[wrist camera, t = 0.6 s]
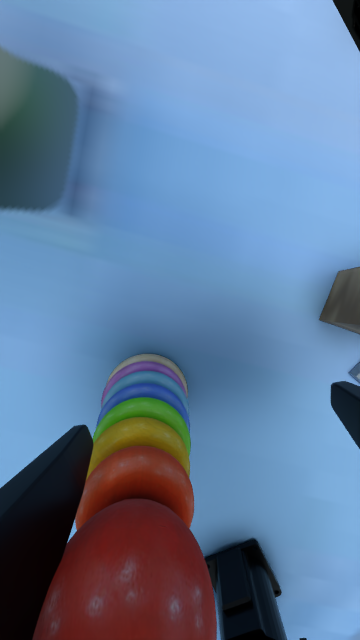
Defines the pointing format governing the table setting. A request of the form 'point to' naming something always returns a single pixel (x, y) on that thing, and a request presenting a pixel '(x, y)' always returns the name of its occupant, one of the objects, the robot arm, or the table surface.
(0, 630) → the robot arm
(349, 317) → the walnut pillar
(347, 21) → the black block on base
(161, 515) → the stacking toy
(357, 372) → the grey board with frame
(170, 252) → the table surface
